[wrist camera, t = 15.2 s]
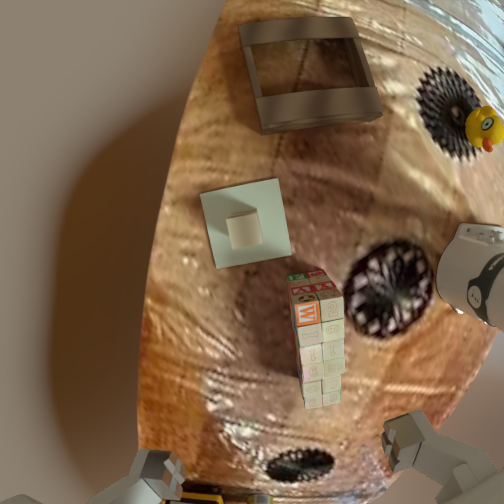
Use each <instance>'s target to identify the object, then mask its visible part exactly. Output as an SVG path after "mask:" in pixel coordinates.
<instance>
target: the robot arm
mask: <svg viewBox="0 0 504 504" xmlns="http://www.w3.org/2000/svg"><path fill="white" fill-rule="evenodd" d="M467 229H468V231H467ZM436 282H437V289H438V292H439V295H440V296H441V298H442V299H443V300H444V301H445V302H447V303H449V304H451V305H452V306H453V308H454V310H455V311H456V312H457V313H459V314H462V313H466V314H468V315H469V316H471V317H473V318H475V319H477V320H483V322H485V323H486V324H489V325H490V326H493V327H497V328H499V329H500V330H502V331H503V332H504V228H503V227H501V226H491V225H480V224H468V223H461V224H460V225H459V227H458V229H457V231H456V234H455V237H454V238H453V240H452V241H451V242H450V244H449V245H448V246H447V247H446V249H445V251H444V252H443V254H442V256H441V259H440V262H439V265H438V269H437V277H436ZM383 428H384V430H385V431H384V432H383V433H382V438H381V440H382V447H383V450H384V453H385V454H386V455H388V456H389V460H388V463H389V465H390V467H391V470H392V472H393V473H396V472H399V471H402V470H405V469H407V468H410V467H413V468H415V469H416V470H417V471H419V472H421V473H423V474H424V475H426V476H427V477H429V478H431V479H432V480H434V481H436V482H437V483H439V484H441V485H443V487H442V488H441V490H440V491H439V493H438V495H437V496H436V498H435V499H436V502H437V504H504V467H502V468H501V469H500V470H497V469H496V467H495V465H494V464H493V462H492V461H491V459H490V458H489V456H488V455H487V453H486V452H485V450H482V449H480V448H477V447H474V446H471V445H468V444H466V443H463V442H461V441H458V440H455V439H453V438H450V437H448V436H445V435H442V434H439V435H437V433H436V432H435V430H434V428H433V427H432V425H431V424H430V422H429V421H428V419H427V417H426V416H425V414H424V413H423V411H422V410H421V409H417V410H415V411H412V412H410V413H406V414H404V415H401V416H398V417H396V418H393V419H390V420H387V421H385V422H384V425H383ZM185 478H186V468H185V465H184V464H183V462H182V461H180V460H178V455H177V453H176V452H175V451H163V450H152V449H140V450H139V451H138V453H137V455H136V457H135V460H134V462H133V465H132V468H131V470H130V473H129V474H128V476H124V477H122V478H121V479H119V480H118V481H117V482H115V483H114V484H113V485H111V486H109V487H108V488H107V489H105V490H103V491H102V492H100V493H99V494H97V495H96V496H94V497H92V498H91V499H89V501H88V503H87V504H158V503H159V502H160V501H161V500H162V499H167V500H179V501H180V500H181V496H182V491H183V488H182V486H181V484H182V483H183V482H184V481H185ZM0 504H42V503H40V502H38V501H36V500H35V499H33V498H31V497H29V496H27V495H24V494H20V495H16V496H14V497H11V498H8V499H6V500H3V501H1V502H0Z"/></svg>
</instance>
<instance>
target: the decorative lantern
mask: <svg viewBox="0 0 504 504" xmlns="http://www.w3.org/2000/svg"><path fill="white" fill-rule="evenodd" d="M165 504H225V502H224V500H223V497H222V488H221V487H218V488H217V491H216V493H204V492H193V491H184V490H183V491H182V496H181V500H180V501H179V500H167V499H166V503H165Z"/></svg>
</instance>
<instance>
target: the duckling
mask: <svg viewBox="0 0 504 504" xmlns="http://www.w3.org/2000/svg"><path fill="white" fill-rule="evenodd" d="M465 126H466V128H465V133H466V136H467V139H468V140H469V142H470V143H471V144H472V145H473V146H475V147H483V148H484V150H485V151H487V152H492V150H493V149H492V145H497V144H499V143H501V142H502V140H503V139H504V126H503V124H502V121H501V119H500V118H499V117H498V116H497V114H496V111H495V110H494V109H493V108H492V107H490V106H484V107H480V108H478V109H475V110H473V111H472V112H471V113H470V115H469V116H468V117H467V119H466V123H465Z"/></svg>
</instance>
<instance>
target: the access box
mask: <svg viewBox="0 0 504 504" xmlns="http://www.w3.org/2000/svg"><path fill="white" fill-rule="evenodd" d="M238 30H239V38H240V42H241V46H242V50H243V54H244V59H245V63H246V67H247V71H248V75H249V80H250V84H251V88H252V92H253V97H254V101H255V106H256V110H257V115H258V119H259V124H260V128H261V133H262V135H267V134H272V133H278V132H285V131H291V130H298V129H305V128H312V127H320V126H329V125H338V124H349V123H361V122H371V121H373V120H375V119H377V118H379V117H381V116H383V114H382V112H383V109H382V105H381V101H380V98H379V94H378V91H377V87H375V84H374V81H373V78H372V75H371V71H370V68H369V65H368V62H367V59H366V56H365V54H364V51H363V48H362V45H361V42H360V40H359V38H360V37H359V34H358V32H357V29H356V27H355V24H354V22H353V19H352V18H351V17H302V18H287V19H277V20H268V21H260V22H253V23H246V24H240V25H238ZM323 38H340V39H341V41H342V44H343V47H344V50H345V53H346V56H347V59H348V62H349V65H350V68H351V71H352V74H353V78H354V81H355V85H356V87H355V88H336V89H323V90H313V91H303V92H295V93H287V94H280V95H273V96H267V97H263V96H262V92H261V87H260V83H259V79H258V75H257V71H256V67H255V63H254V59H253V55H252V51H251V47H250V46H252V45H259V44H266V43H274V42H282V41H292V40H304V39H323Z"/></svg>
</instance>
